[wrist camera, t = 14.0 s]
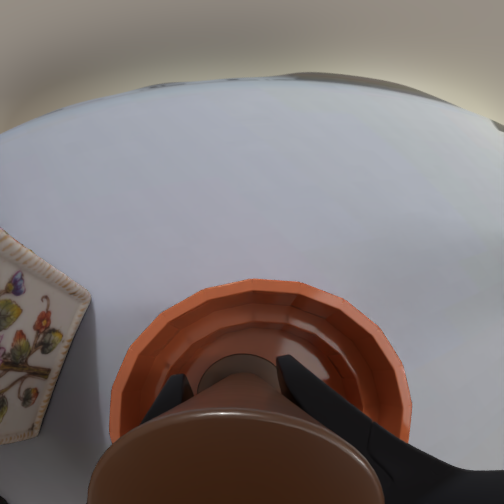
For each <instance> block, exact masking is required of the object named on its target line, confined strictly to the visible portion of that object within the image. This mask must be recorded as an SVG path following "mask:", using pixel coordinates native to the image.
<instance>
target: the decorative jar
mask: <svg viewBox="0 0 504 504" xmlns="http://www.w3.org/2000/svg"><path fill="white" fill-rule="evenodd" d="M90 301H91V295H90V293H89V292H88V290H87V289H85V288H84V287H82V286H81V285H79V284H78V283H76V282H74V281H73V280H72V279H70V278H69V277H68V276H66V275H65V274H63V273H62V272H61V271H59V270H57V269H56V268H54V267H53V266H52V265H50V264H48V263H47V262H45V261H44V260H43V259H41V258H40V257H38V256H37V255H35V254H34V253H33V252H32V250H29V249H27V248H26V247H25V246H23V244H20V243H19V242H18V241H17V240H15V239H14V238H13V237H11V236H10V235H9V234H8V233H7V232H6V231H5V230H3V229H2V228H1V227H0V445H2V444H9V443H14V442H18V441H23V440H27V439H31V438H34V437H36V436H38V433H39V430H40V426H41V424H42V420H43V417H44V414H45V412H46V409H47V407H48V404H49V401H50V398H51V395H52V392H53V389H54V387H55V384H56V381H57V378H58V375H59V373H60V370H61V368H62V365H63V362H64V360H65V357H66V355H67V352H68V350H69V347H70V344H71V342H72V340H73V337H74V335H75V333H76V331H77V329H78V327H79V325H80V322H81V320H82V318H83V316H84V314H85V312H86V310H87V308H88V306H89V304H90Z"/></svg>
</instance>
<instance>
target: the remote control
mask: <svg viewBox="0 0 504 504" xmlns="http://www.w3.org/2000/svg"><path fill="white" fill-rule="evenodd" d="M0 504H7V503H6V501H5V500H4V499H3V498H2V497H0Z"/></svg>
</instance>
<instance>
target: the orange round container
mask: <svg viewBox="0 0 504 504" xmlns="http://www.w3.org/2000/svg"><path fill="white" fill-rule="evenodd" d="M243 353H244V354H253V355H257V356H260V357H263V358H265V359H267V360H268V361H270V362H271V363H273V364H274V365H275V366H276V357H278V356H283V355H287V354H289V355H291V356H293V357H294V358H295V359H296V360H297V361H299V362H300V363H301V364H302V365H304V366H305V367H306V368H307V369H308V370H310V371H311V372H312V373H313V374H315V375H316V376H317V377H318V378H319V379H321V380H322V381H323V382H324V383H326V384H327V385H328V386H329V387H331V388H332V389H333V390H335V391H336V392H337V393H338V394H340V395H341V396H342V397H343V398H345V399H346V400H347V401H349V402H350V403H351V404H352V405H354V406H355V407H356V408H358V409H359V410H360V411H362V412H363V413H364V414H366V415H367V416H368V417H370V418H371V419H372V422H373V421H375V422H376V423H378V424H379V425H380V426H382V427H383V428H384V429H386V430H387V431H389V432H390V433H392V434H393V435H395V436H396V437H398V438H399V439H401V440H403V441H405V442H406V443H408V440H409V432H410V423H411V413H412V402H411V397H410V392H409V388H408V383H407V379H406V375H405V371H404V367H403V365H402V362H401V360H400V359H399V357H398V355H397V354H396V352H395V351H394V349H393V348H392V346H391V344H390V343H389V341H388V340H387V338H386V336H385V335H384V333H383V332H382V330H381V329H380V328H379V327H378V326H377V325H376V324H375V323H374V322H372V321H371V320H370V319H369V318H367V317H366V316H365V315H364V314H362V313H361V312H360V311H359V310H357V309H356V308H355V307H354V306H353V305H351V304H350V303H349V302H348V301H346V300H344V299H343V298H340V297H338V296H335V295H333V294H330V293H327V292H325V291H322V290H320V289H317V288H315V287H312V286H309V285H307V284H304V283H300V282H293V281H279V280H266V279H247V280H242V281H238V282H233V283H228V284H224V285H219V286H215V287H210V288H205V289H204V290H201V291H199V292H197V293H195V294H194V295H192V296H190V297H188V298H186V299H185V300H183V301H181V302H179V303H178V304H176V305H174V306H172V307H170V308H169V309H167V310H165V311H163V312H162V313H161V314H159V315H158V316H157V318H156V319H155V320H154V321H153V322H152V323H151V324H150V325H149V326H148V327H147V328H146V329H145V331H144V332H143V333H142V334H141V335H140V336H139V337H138V338H137V339H136V340H135V341H134V343H133V344H132V345H131V346H130V348H129V349H128V351H127V354H126V356H125V358H124V360H123V363H122V365H121V367H120V370H119V372H118V374H117V377H116V379H115V381H114V384H113V386H112V390H111V403H110V422H109V432H110V433H109V434H110V438H111V441H112V444H113V443H114V442H115V441H116V440H117V439H119V438H120V437H121V436H123V435H124V434H126V433H127V432H129V431H130V430H132V429H133V428H135V427H137V426H139V425H140V423H141V421H142V420H143V418H144V417H145V415H146V414H147V412H148V410H149V409H150V407H151V406H152V404H153V402H154V401H155V399H156V398H157V396H158V394H159V393H160V391H161V390H162V388H163V387H164V385H165V383H166V382H167V380H168V379H169V377H170V376H171V375H174V374H182V373H183V374H185V375H186V376H187V379H188V381H189V384H190V386H191V389H192V391H193V394H194V396H195V395H197V388H198V384H199V382H200V379H201V377H202V376H203V374H204V373H205V371H206V370H207V369H208V368H209V367H210V366H211V365H212V364H213V363H215V362H216V361H218V360H219V359H221V358H224V357H226V356H229V355H233V354H243Z"/></svg>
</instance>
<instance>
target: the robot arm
mask: <svg viewBox="0 0 504 504" xmlns="http://www.w3.org/2000/svg"><path fill="white" fill-rule="evenodd" d="M276 369H277V377H278V382H279V386H280V390H281V394H282V395H283V396H284V397H286V398H287V399H288V400H290V401H291V402H292V403H294V404H295V405H296V406H298V407H299V408H300V409H302V410H303V411H304V412H306V413H307V414H308V415H310V416H311V417H313V418H314V419H315V420H317V421H318V422H320V423H321V424H322V425H324V426H325V427H327V428H328V429H330V430H331V431H332V432H334V433H335V434H337V435H338V436H340V437H341V438H342V439H344V440H345V441H347V442H348V443H349V444H351V445H352V446H354V447H355V448H356V449H357V450H358V451H359V452H360V453H361V454H362V455H363V456H364V457H365V458H366V460H367V461H368V462H369V464H370V465H371V466H372V468H373V469H374V471H375V473H376V475H377V477H378V479H379V481H380V483H381V486H382V490H383V494H384V500H385V504H504V470H491V471H474V470H466V469H461V468H458V467H455V466H452V465H450V464H448V463H446V462H443V461H441V460H439V459H437V458H435V457H433V456H431V455H429V454H427V453H425V452H423V451H421V450H419V449H417V448H415V447H413V446H412V445H410V444H408V443H406V442H405V441H403V440H401V439H399V438H398V437H396V436H395V435H393V434H392V433H390V432H389V431H387V430H386V429H384V428H383V427H382V426H380V425H379V424H378V423H376V422H375V421H373V422H372V419H371V418H370V417H368V416H367V415H366V414H364V413H363V412H362V411H360V410H359V409H358V408H356V407H355V406H354V405H352V404H351V403H350V402H349V401H347V400H346V399H345V398H343V397H342V396H341V395H340V394H338V393H337V392H336V391H335V390H333V389H332V388H331V387H329V386H328V385H327V384H326V383H324V382H323V381H322V380H321V379H319V378H318V377H317V376H316V375H315V374H313V373H312V372H311V371H310V370H308V369H307V368H306V367H305V366H304V365H302V364H301V363H300V362H299V361H297V360H296V359H295V358H294V357H293V356H291V355H289V354H287V355H283V356H278V357H276ZM192 397H194V394H193V391H192V389H191V386H190V384H189V381H188V379H187V376H186V375H185V374H183V373H182V374H174V375H171V376H170V377H169V379H168V380H167V382H166V383H165V385H164V387H163V388H162V390H161V391H160V393H159V394H158V396H157V398H156V399H155V401H154V402H153V404H152V406H151V407H150V409H149V410H148V412H147V414H146V415H145V417H144V418H143V420H142V421H141V423H140V425H141V424H143V423H145V422H147V421H149V420H151V419H153V418H155V417H157V416H159V415H161V414H163V413H165V412H167V411H168V410H170V409H172V408H174V407H176V406H178V405H179V404H181V403H183V402H185V401H187V400H188V399H190V398H192Z"/></svg>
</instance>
